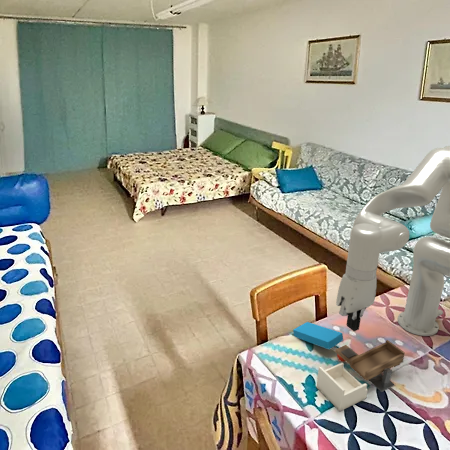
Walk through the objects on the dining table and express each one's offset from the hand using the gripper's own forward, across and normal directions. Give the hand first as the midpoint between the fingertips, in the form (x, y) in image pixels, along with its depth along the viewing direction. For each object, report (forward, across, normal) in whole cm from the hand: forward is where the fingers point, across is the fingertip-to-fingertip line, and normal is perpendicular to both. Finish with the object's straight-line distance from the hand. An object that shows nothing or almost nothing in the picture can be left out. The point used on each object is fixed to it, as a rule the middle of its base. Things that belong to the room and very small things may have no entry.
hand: (352, 327), depth 111 cm
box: (+14, +8, +7) cm, 17 cm away
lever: (+15, 0, -11) cm, 18 cm away
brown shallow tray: (+11, -4, +3) cm, 12 cm away
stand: (+14, -4, +7) cm, 16 cm away
